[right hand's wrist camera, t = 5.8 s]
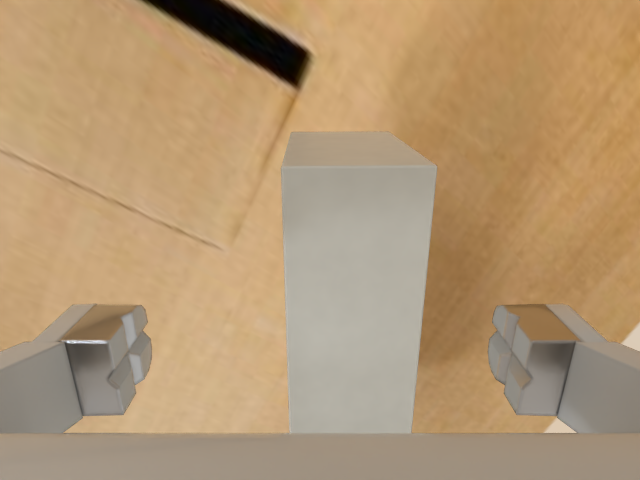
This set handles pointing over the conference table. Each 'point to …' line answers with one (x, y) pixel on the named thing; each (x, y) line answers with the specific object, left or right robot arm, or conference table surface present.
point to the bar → (354, 279)
